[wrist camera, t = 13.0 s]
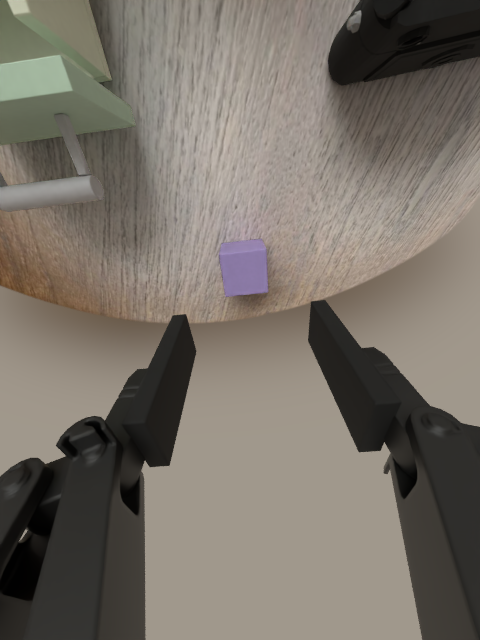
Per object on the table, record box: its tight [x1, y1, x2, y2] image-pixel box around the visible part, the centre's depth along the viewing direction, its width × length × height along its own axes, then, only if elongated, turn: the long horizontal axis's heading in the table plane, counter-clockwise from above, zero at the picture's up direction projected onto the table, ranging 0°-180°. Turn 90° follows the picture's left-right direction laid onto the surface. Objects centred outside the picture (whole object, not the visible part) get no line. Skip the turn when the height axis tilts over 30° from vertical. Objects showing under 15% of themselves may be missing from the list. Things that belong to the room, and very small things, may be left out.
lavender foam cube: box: [219, 239, 268, 297], centre depth 22 cm, size 4×4×4 cm
